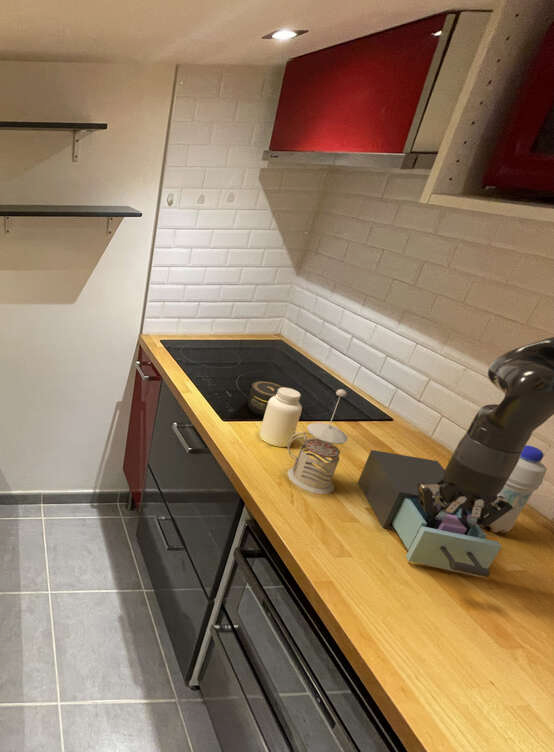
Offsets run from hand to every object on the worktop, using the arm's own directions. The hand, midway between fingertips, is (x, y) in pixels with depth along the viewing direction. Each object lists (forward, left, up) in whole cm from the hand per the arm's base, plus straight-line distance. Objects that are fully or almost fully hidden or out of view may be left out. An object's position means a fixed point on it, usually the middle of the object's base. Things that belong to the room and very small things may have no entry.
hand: (442, 533), depth 86 cm
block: (0, 0, 0) cm, 0 cm away
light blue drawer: (0, 0, -5) cm, 5 cm away
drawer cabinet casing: (0, -13, -6) cm, 14 cm away
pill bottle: (+22, -34, -6) cm, 41 cm away
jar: (+22, -50, -6) cm, 55 cm away
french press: (+18, -18, -6) cm, 26 cm away
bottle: (-16, -14, -6) cm, 22 cm away
